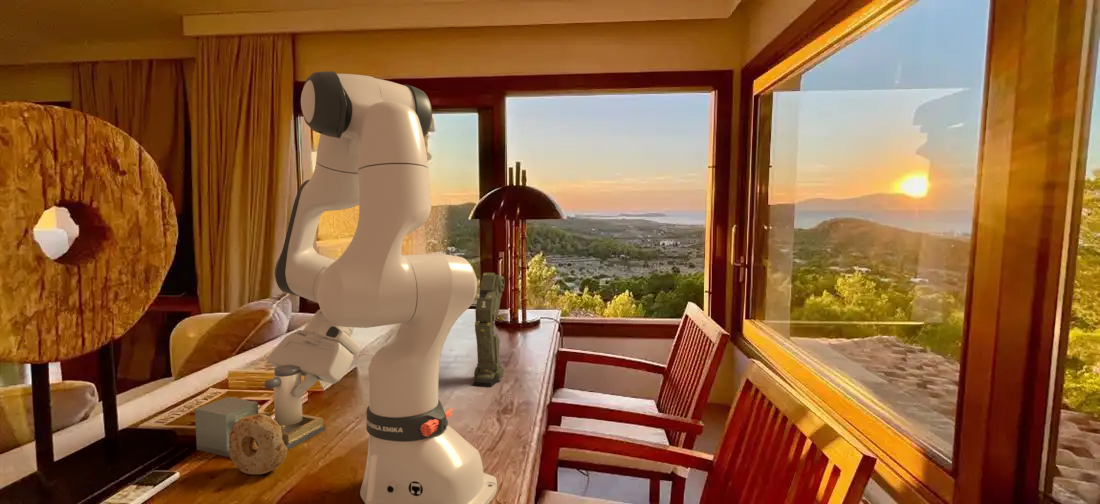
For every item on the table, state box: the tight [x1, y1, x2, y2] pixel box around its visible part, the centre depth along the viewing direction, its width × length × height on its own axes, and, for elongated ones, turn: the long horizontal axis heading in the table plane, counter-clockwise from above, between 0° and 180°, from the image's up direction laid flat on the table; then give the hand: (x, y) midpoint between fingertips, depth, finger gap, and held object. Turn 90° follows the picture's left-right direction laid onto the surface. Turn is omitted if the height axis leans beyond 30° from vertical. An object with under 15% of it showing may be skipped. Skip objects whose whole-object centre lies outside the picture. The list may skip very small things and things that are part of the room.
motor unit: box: [194, 396, 326, 458], centre depth 107 cm, size 16×16×8 cm
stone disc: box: [229, 413, 289, 475], centre depth 94 cm, size 10×4×10 cm, turn 75°
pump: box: [264, 365, 303, 426], centre depth 108 cm, size 5×7×11 cm
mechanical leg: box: [472, 272, 506, 388], centre depth 145 cm, size 14×7×30 cm, turn 169°
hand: (285, 392), depth 108 cm, fingers closed on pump, 5 cm apart
